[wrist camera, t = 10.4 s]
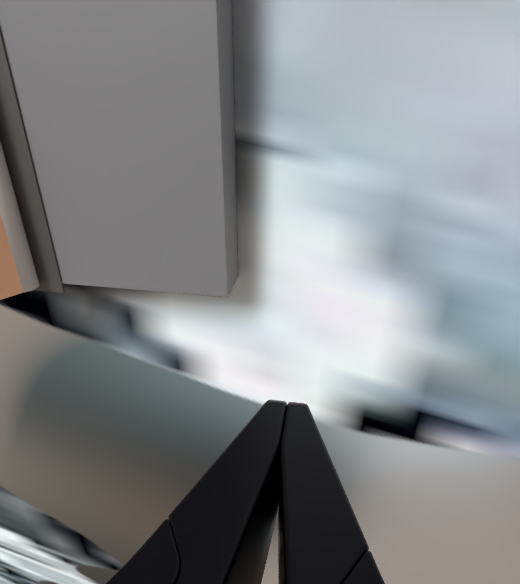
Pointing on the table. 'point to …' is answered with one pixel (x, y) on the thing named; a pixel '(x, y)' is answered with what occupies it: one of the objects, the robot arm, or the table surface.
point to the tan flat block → (13, 242)
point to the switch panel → (122, 141)
